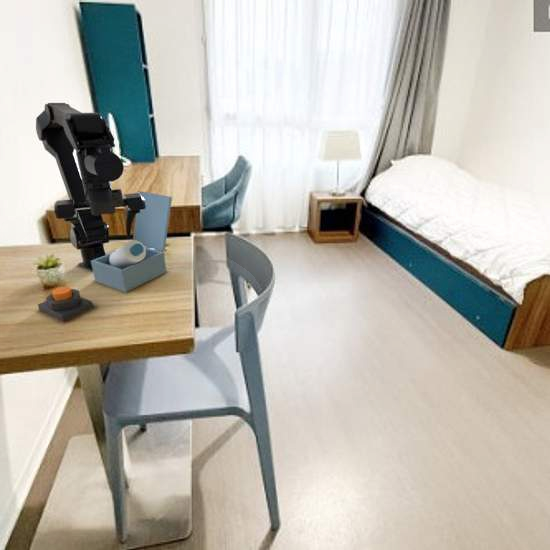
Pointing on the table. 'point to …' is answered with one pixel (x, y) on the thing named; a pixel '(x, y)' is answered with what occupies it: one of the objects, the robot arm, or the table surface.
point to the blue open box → (129, 271)
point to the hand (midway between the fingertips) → (108, 240)
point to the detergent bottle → (127, 254)
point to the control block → (65, 306)
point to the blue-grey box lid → (153, 221)
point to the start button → (62, 293)
